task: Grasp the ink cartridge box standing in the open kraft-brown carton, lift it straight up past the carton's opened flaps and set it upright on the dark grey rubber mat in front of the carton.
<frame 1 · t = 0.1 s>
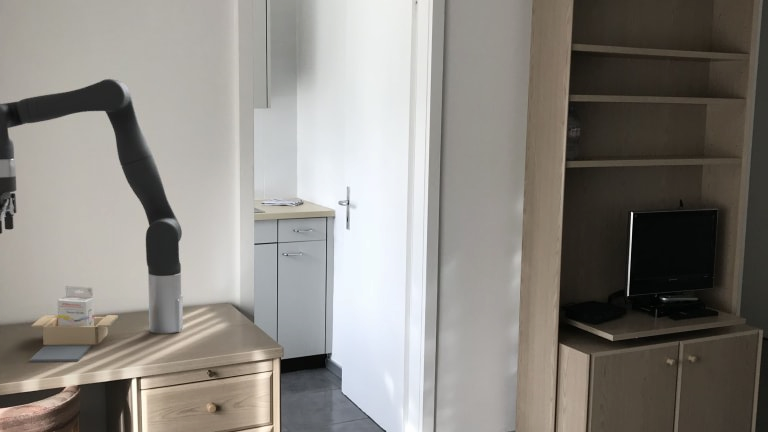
hand: (3, 231, 225), 29 cm above the table, fingers open, 8 cm apart
mat: (61, 354, 208), on the table
ink cartridge box: (76, 339, 222), resting in carton
carton: (76, 339, 222), on the table
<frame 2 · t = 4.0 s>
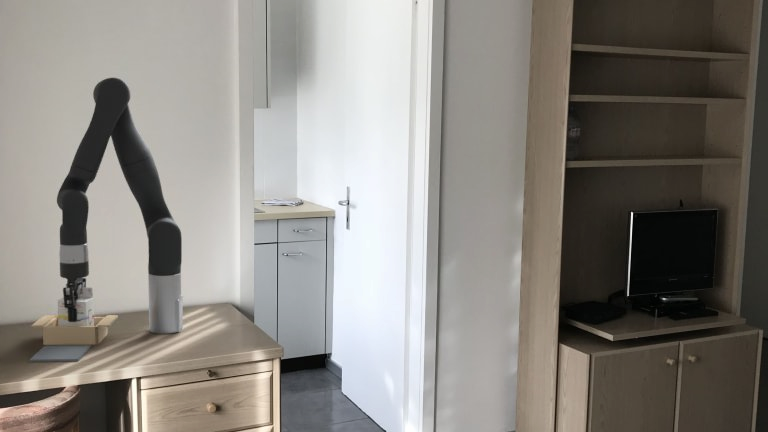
hand: (75, 318, 221), 6 cm above the table, fingers closed on ink cartridge box, 5 cm apart
ink cartridge box: (76, 339, 222), resting in carton, touching gripper
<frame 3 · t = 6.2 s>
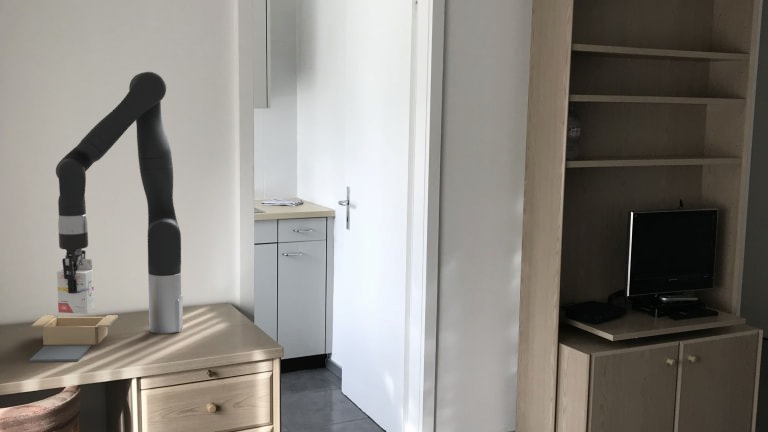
hand: (75, 290, 220), 14 cm above the table, fingers closed on ink cartridge box, 5 cm apart
ink cartridge box: (76, 312, 221), point 8 cm above the table, touching gripper
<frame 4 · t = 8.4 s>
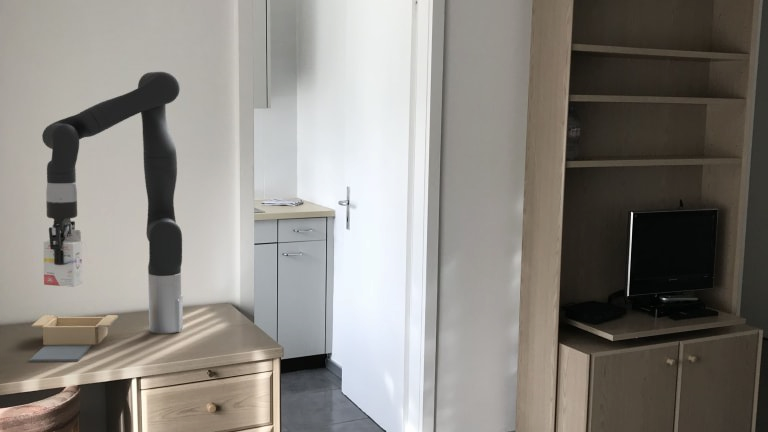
hand: (62, 262, 210), 24 cm above the table, fingers closed on ink cartridge box, 5 cm apart
ink cartridge box: (63, 285, 211), point 18 cm above the table, touching gripper
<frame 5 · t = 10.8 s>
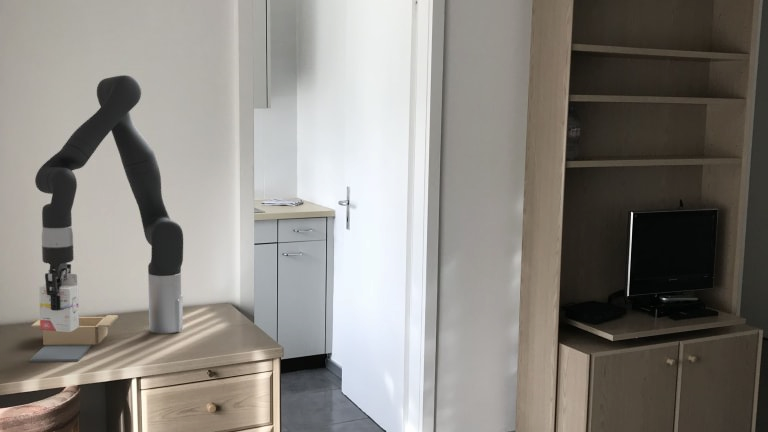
hand: (59, 306, 207), 13 cm above the table, fingers closed on ink cartridge box, 5 cm apart
ink cartridge box: (59, 329, 208), point 7 cm above the table, touching gripper
when the fingers open (8 cm above the table, at t = 12.6 s): ink cartridge box drops 2 cm, resting on mat.
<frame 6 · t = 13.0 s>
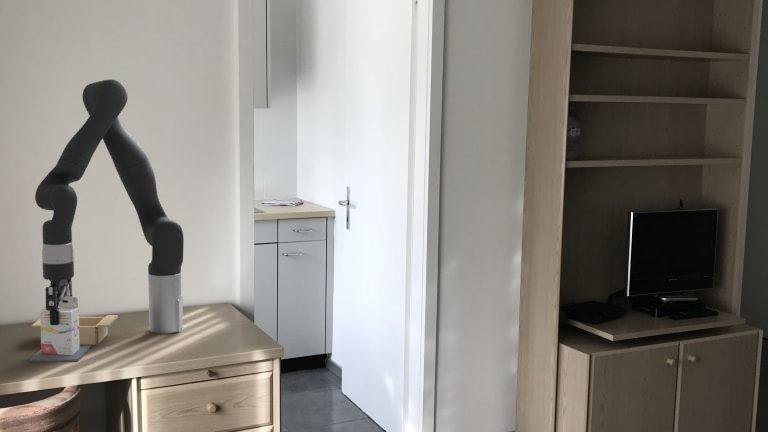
hand: (60, 320, 207), 9 cm above the table, fingers open, 8 cm apart
ink cartridge box: (60, 352, 208), resting on mat
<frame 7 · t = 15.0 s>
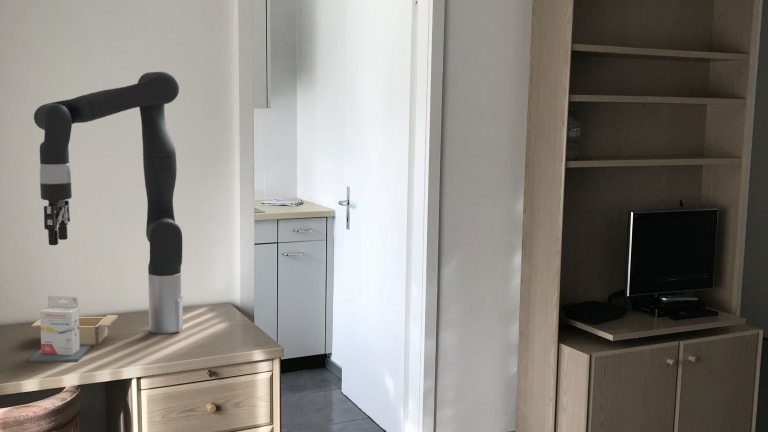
hand: (58, 242, 208), 29 cm above the table, fingers open, 8 cm apart
nothing on the table moved.
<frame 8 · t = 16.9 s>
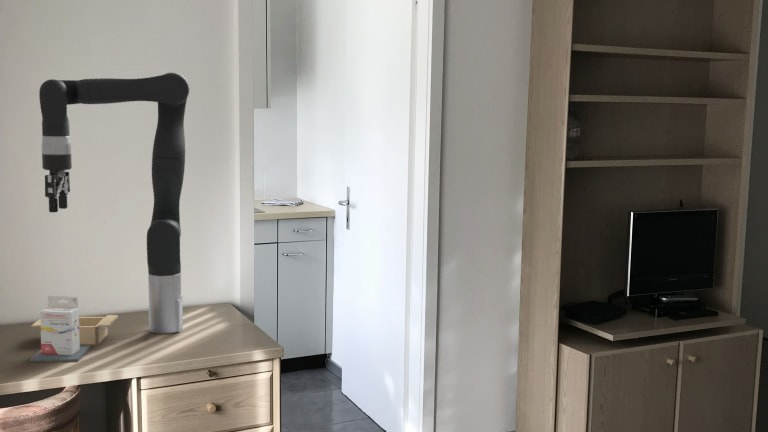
hand: (58, 210, 221), 36 cm above the table, fingers open, 8 cm apart
nothing on the table moved.
at the end: ink cartridge box inside the target area (0.1 cm from its centre), resting on mat; ink cartridge box tilted 0°; the gripper is holding nothing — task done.
